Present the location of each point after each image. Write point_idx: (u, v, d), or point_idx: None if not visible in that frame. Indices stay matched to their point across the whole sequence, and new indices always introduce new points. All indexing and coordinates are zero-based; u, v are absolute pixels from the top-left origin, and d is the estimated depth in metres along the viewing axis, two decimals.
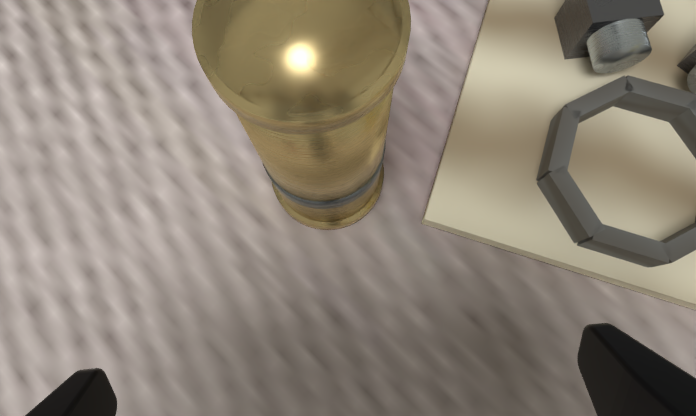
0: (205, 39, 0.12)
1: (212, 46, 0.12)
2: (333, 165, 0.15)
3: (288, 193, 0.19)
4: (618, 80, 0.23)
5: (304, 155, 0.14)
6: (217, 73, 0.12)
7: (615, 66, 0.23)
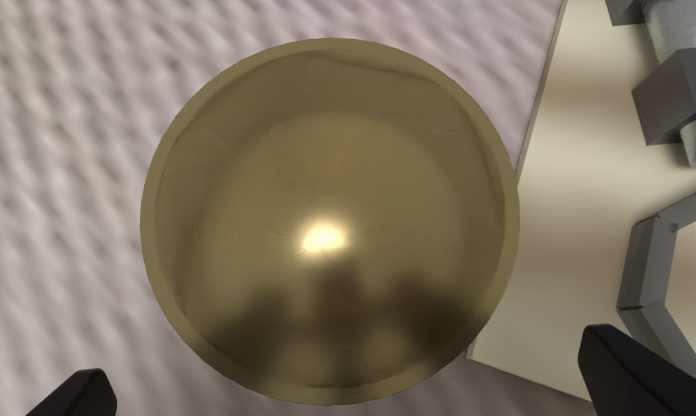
0: (162, 237, 0.07)
1: (174, 250, 0.07)
2: None
3: None
4: None
5: None
6: (180, 305, 0.07)
7: None
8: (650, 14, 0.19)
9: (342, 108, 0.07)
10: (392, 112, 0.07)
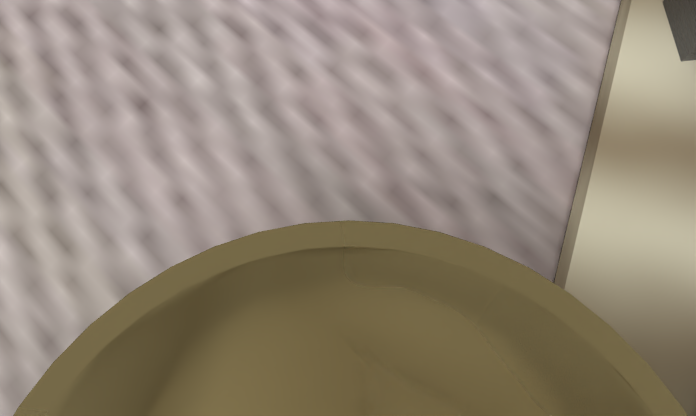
0: None
1: None
2: None
3: None
4: None
5: None
6: None
7: None
8: None
9: (374, 388, 0.03)
10: (480, 397, 0.03)
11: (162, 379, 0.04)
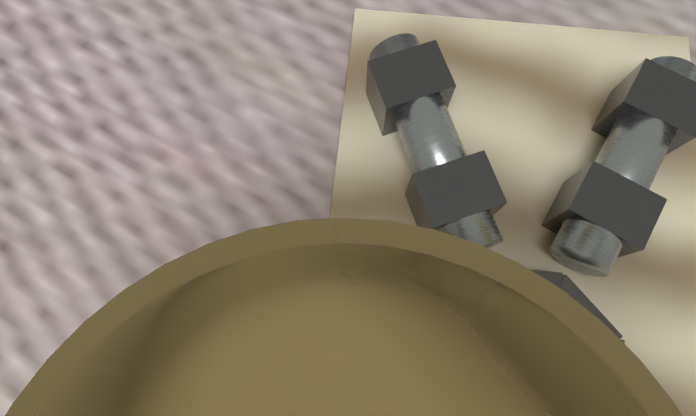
0: None
1: None
2: None
3: None
4: None
5: None
6: None
7: None
8: (399, 133, 0.22)
9: (367, 384, 0.03)
10: (472, 393, 0.03)
11: (156, 375, 0.04)
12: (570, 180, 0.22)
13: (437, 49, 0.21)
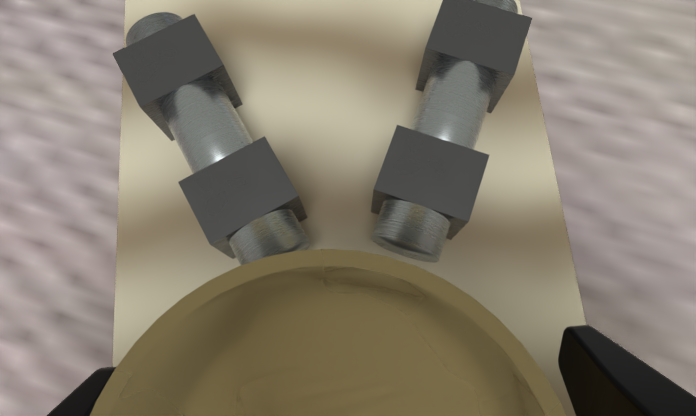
0: None
1: None
2: None
3: None
4: None
5: None
6: None
7: None
8: None
9: (342, 358, 0.05)
10: (410, 364, 0.05)
11: (205, 353, 0.05)
12: None
13: (197, 25, 0.17)
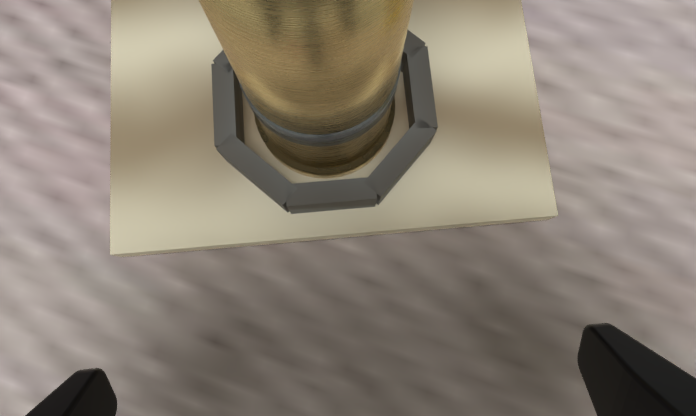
0: None
1: None
2: (333, 68, 0.11)
3: (272, 123, 0.15)
4: None
5: (291, 44, 0.09)
6: None
7: None
8: None
9: None
10: None
11: None
12: None
13: None
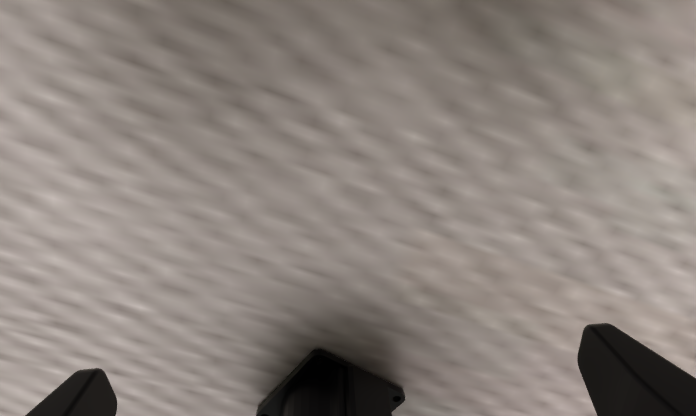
0: None
1: None
2: None
3: None
4: None
5: None
6: None
7: None
8: None
9: None
10: None
11: None
12: None
13: None
